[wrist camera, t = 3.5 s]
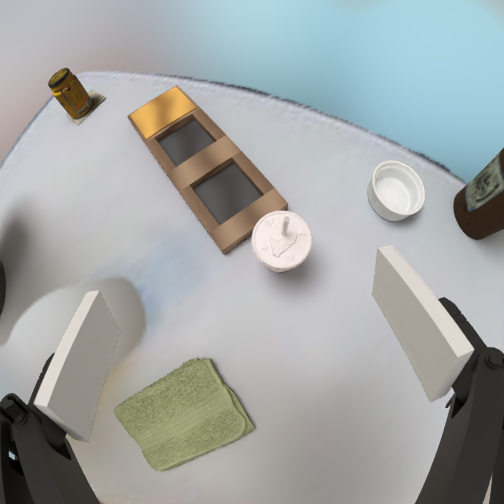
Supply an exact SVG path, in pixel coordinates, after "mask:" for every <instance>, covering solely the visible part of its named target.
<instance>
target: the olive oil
mask: <svg viewBox="0 0 504 504" xmlns="http://www.w3.org/2000/svg"><path fill="white" fill-rule="evenodd" d="M454 212H455V216H456V219H457V222H458V224H459V226H460V227H461V229H462V230H463V231H464V232H465V233H466V234H467V235H468V236H469V237H471V238H473V239H482V238H485V237H487V236H489V235H491V234H493V233H496V232H498V231H500V230H502V229H504V148H503V149H502V150H501V151H500V152H499V153H498V154H497V156H496V157H495V158H494V159H493V160H492V161H491V162H490V163H489V164H488V165H487V166H486V167H485V168H484V169H483V170H482V171H481V172H480V173H479V174H478V175H477V176H476V177H475V178H474V179H473V180H472V181H471V182H470V183H468V184H467V185H466V186H465V187H464V188H463V189H462V190H461V191H460V192H459V193H458V194H457V195H456V197H455V200H454Z"/></svg>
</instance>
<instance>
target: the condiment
mask: <svg viewBox="0 0 504 504" xmlns="http://www.w3.org/2000/svg"><path fill="white" fill-rule="evenodd" d="M48 85H49V87H50V88H51V90H52V91H53V95H54V96H55V98H56V99H57V100H58V101H59V103H60V104H61V105H62V106H63V108H64V109H65V110H66V111H67V112H68V114H67V116H68V117H69V118H70V119H71V120H72V121H74V122H75V123H76V124H77V125H79V124H80V123H81V122H82V121H83V120H84V119H85V118H86V117H87V116H88V115H89V114H90V113H91V112H92V111H93V110H94V108H96V107H97V106H98V105H99V104H100V103H101V102H102V101H103V100H104V99H105V98H106V97H104V96H102V95H100V94H98V93H97V92H95V91H93V90H92V91H91V92H89V94H88V93H87V92H86V90H85V89H84V87H83V86H82V84H81V83H80V81H79V80H78V78H77V77H76V76H75V75H72V73H71V72H70V70H69V69H68V68H64V69H61V70H59V71H58V72H56V73H55V74H54V75H53V76H52V77H51V79H50V80H49V83H48ZM93 106H94V107H93Z"/></svg>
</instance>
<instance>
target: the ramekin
mask: <svg viewBox="0 0 504 504" xmlns="http://www.w3.org/2000/svg"><path fill="white" fill-rule="evenodd" d="M368 199H369V202H370V204H371V206H372V208H373V209H374V211H375V212H376V213H377V214H378V215H380V216H381V217H382V218H384V219H386V220H389V221H400V220H403V219H405V218H406V217H408V216H410V215H412V214H415V213H416V212H418V211H419V210H420V209H421V208H422V206H423V204H424V201H425V189H424V186H423V183H422V181H421V179H420V177H419V176H418V175H417V173H416V172H415V171H414V170H413V169H411V168H410V167H409V166H407V165H406V164H404V163H401V162H398V161H385V162H382V163H381V164H379V165H378V166H377V167H376V168H375V170H374V172H373V175H372V179H371V181H370V184H369V186H368Z"/></svg>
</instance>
